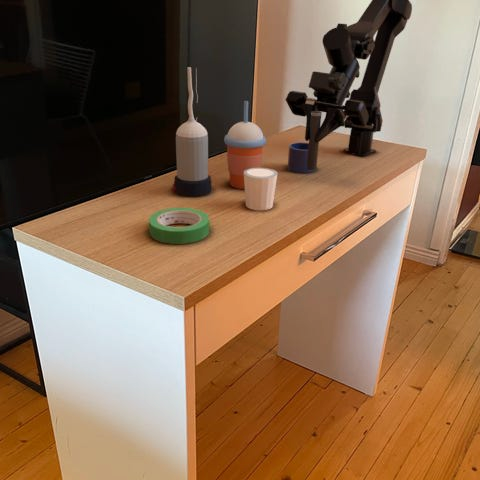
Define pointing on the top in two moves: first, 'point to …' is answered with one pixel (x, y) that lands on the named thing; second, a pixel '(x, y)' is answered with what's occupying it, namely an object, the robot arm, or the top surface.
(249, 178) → the white tapered cup
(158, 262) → the top surface
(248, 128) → the cup with straw
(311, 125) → the gray cylinder
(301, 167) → the blue cup
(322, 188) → the top surface
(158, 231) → the tape roll
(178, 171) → the humidifier
